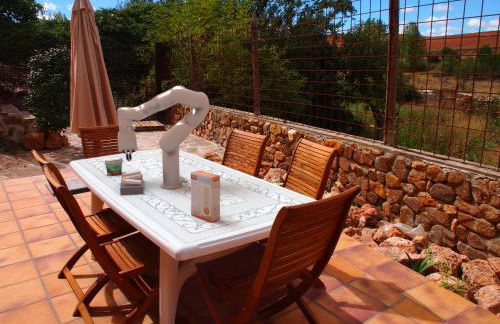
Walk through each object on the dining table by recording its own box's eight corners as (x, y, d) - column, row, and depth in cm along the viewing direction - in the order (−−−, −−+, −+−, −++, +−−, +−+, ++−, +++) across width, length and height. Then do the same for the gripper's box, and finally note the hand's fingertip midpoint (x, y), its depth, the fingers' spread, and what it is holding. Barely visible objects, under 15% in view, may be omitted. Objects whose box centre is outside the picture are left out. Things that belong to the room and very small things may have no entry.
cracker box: (220, 219, 181) (220, 175, 176) (211, 222, 176) (210, 177, 172) (200, 212, 190) (200, 169, 185) (190, 215, 185) (190, 171, 181)
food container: (111, 177, 249) (110, 161, 246) (105, 175, 252) (104, 160, 250) (127, 173, 258) (126, 158, 256) (121, 172, 262) (121, 157, 260)
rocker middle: (140, 175, 230) (140, 173, 229) (141, 177, 226) (140, 175, 226) (123, 179, 227) (122, 177, 227) (123, 181, 224) (122, 178, 223)
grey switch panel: (142, 179, 246) (142, 172, 245) (143, 193, 216) (143, 186, 215) (122, 180, 243) (122, 173, 242) (120, 195, 213) (120, 188, 212)
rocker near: (140, 182, 222) (141, 179, 221) (140, 184, 218) (141, 181, 218) (122, 181, 219) (122, 178, 218) (121, 182, 215) (122, 180, 215)
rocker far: (140, 172, 238) (140, 169, 238) (140, 174, 234) (140, 171, 234) (123, 175, 236) (123, 173, 236) (123, 177, 232) (122, 174, 232)
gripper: (139, 127, 229) (142, 158, 233) (112, 129, 225) (115, 160, 229) (140, 129, 222) (142, 161, 226) (112, 131, 218) (115, 163, 222)
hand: (129, 161), depth 228 cm, fingers closed
